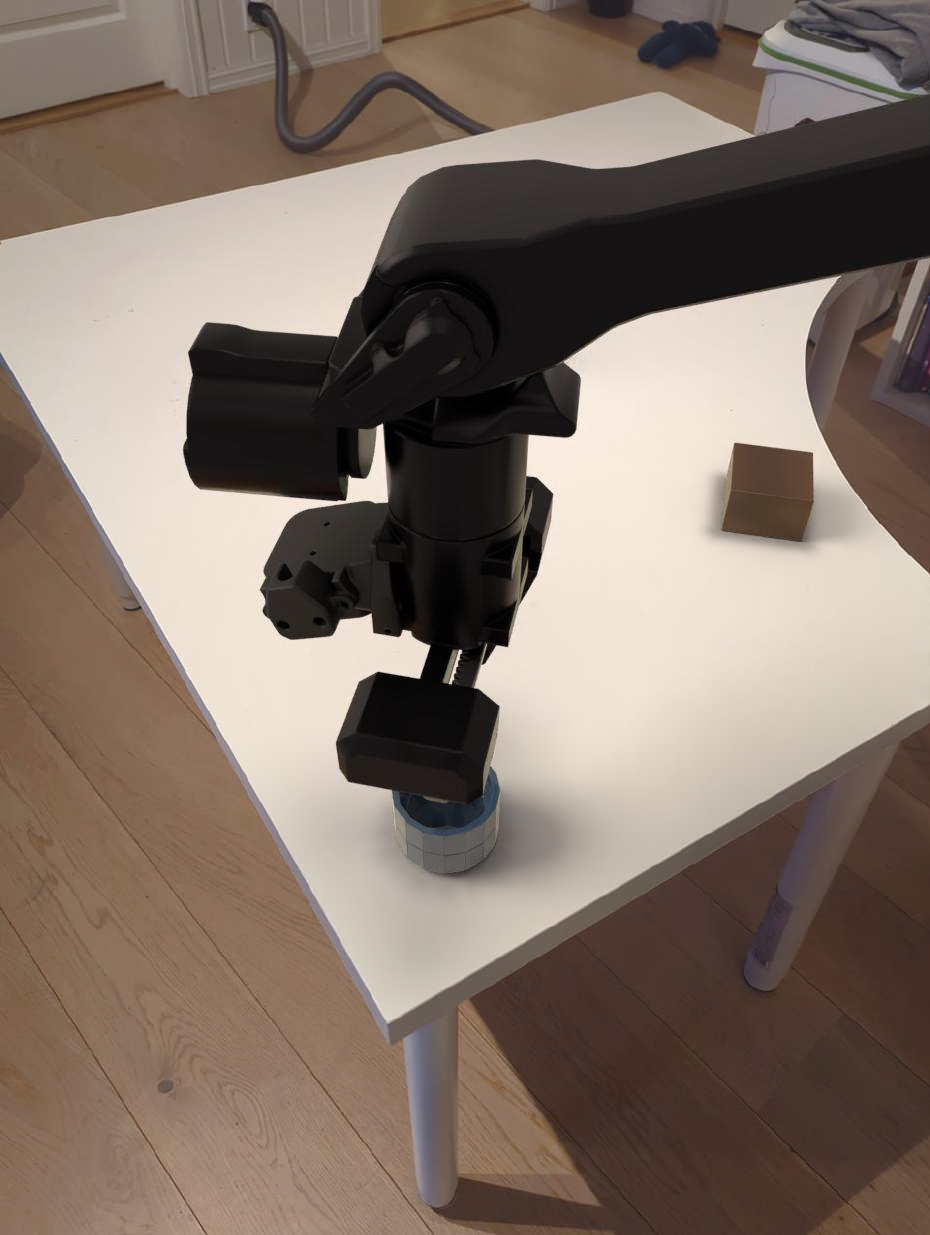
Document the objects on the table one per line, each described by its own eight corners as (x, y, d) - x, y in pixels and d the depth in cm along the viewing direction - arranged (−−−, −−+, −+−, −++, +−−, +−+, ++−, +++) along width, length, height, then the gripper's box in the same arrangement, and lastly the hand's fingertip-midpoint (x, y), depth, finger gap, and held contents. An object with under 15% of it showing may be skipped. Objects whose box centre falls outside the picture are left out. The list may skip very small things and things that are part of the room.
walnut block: (801, 492, 83) (813, 452, 81) (801, 542, 79) (814, 501, 77) (725, 482, 84) (734, 441, 81) (721, 530, 80) (730, 490, 77)
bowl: (506, 799, 64) (508, 755, 60) (486, 886, 59) (487, 844, 56) (410, 782, 64) (407, 737, 61) (384, 866, 60) (379, 824, 57)
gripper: (337, 351, 51) (359, 580, 62) (185, 625, 38) (248, 849, 50) (564, 380, 49) (544, 610, 61) (483, 676, 37) (477, 896, 48)
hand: (457, 726), depth 55 cm, fingers open, 9 cm apart
